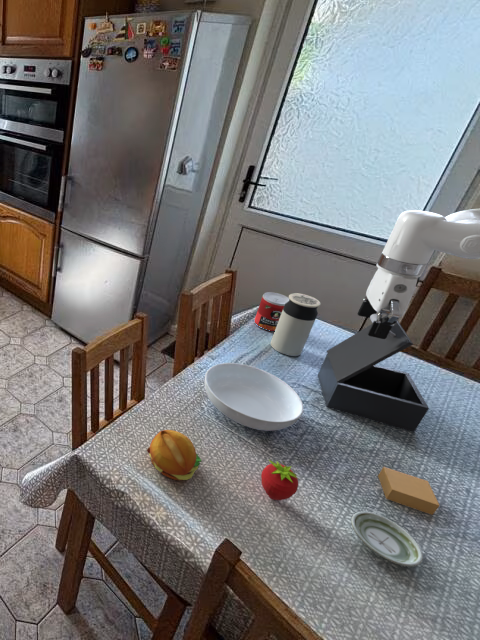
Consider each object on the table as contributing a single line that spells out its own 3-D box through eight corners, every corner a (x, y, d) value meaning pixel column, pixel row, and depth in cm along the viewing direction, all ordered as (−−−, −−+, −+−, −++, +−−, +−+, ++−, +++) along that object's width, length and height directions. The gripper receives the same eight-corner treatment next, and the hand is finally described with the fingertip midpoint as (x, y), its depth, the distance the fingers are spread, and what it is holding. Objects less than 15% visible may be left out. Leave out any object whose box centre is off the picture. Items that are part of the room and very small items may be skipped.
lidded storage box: (395, 395, 110) (408, 372, 107) (414, 432, 99) (429, 408, 96) (317, 375, 118) (327, 353, 114) (326, 407, 107) (337, 384, 104)
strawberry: (248, 497, 85) (262, 465, 81) (262, 477, 89) (276, 444, 85) (281, 520, 81) (298, 486, 77) (294, 497, 85) (310, 464, 81)
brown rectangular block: (421, 490, 86) (428, 481, 85) (432, 515, 81) (440, 505, 80) (377, 475, 89) (383, 466, 88) (386, 499, 85) (392, 489, 83)
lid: (394, 314, 104) (374, 301, 105) (413, 344, 93) (391, 329, 94) (329, 352, 114) (311, 340, 115) (339, 383, 103) (320, 370, 104)
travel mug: (302, 360, 124) (323, 309, 116) (270, 351, 127) (289, 302, 120) (299, 345, 130) (319, 297, 122) (269, 338, 134) (287, 290, 126)
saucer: (423, 550, 76) (429, 542, 75) (409, 585, 71) (416, 578, 70) (356, 508, 83) (361, 501, 82) (339, 538, 78) (344, 530, 77)
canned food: (256, 329, 138) (266, 301, 133) (251, 317, 144) (260, 290, 140) (283, 334, 135) (294, 306, 130) (277, 321, 142) (287, 294, 137)
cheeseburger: (204, 461, 93) (211, 438, 87) (184, 500, 87) (190, 478, 82) (159, 435, 99) (163, 411, 94) (138, 470, 94) (141, 447, 88)
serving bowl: (224, 371, 120) (230, 352, 117) (308, 418, 104) (318, 397, 101) (183, 401, 109) (188, 381, 106) (270, 458, 94) (279, 436, 91)
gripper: (439, 284, 85) (402, 350, 93) (409, 253, 99) (380, 313, 106) (391, 276, 89) (359, 340, 96) (369, 247, 102) (343, 305, 110)
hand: (370, 326), depth 101 cm, fingers open, 9 cm apart
